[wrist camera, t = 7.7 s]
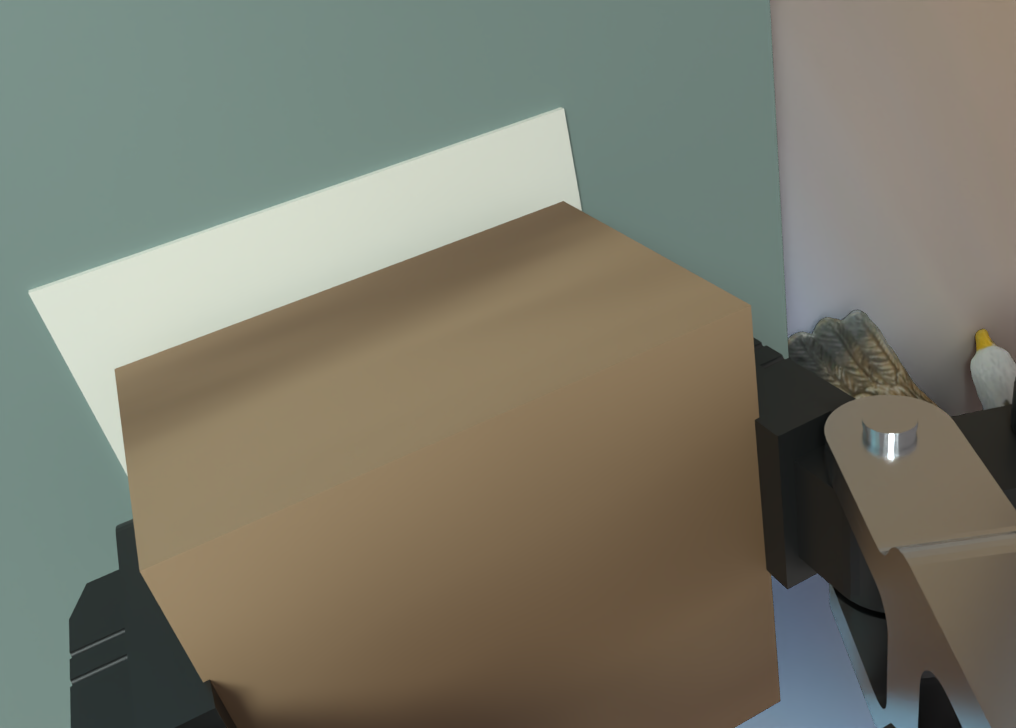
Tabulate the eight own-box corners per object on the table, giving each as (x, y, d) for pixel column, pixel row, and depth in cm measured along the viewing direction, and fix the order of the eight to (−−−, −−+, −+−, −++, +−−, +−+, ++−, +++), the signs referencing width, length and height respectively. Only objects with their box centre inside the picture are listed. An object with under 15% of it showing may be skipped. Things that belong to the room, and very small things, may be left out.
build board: (-514, 58, 9) (-594, 77, 8) (700, -237, 12) (761, -252, 11) (109, 863, 16) (113, 931, 15) (761, 526, 19) (802, 561, 18)
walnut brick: (114, 369, 11) (140, 571, 7) (563, 200, 12) (750, 305, 9) (283, 700, 14) (355, 947, 10) (624, 531, 15) (780, 701, 12)
